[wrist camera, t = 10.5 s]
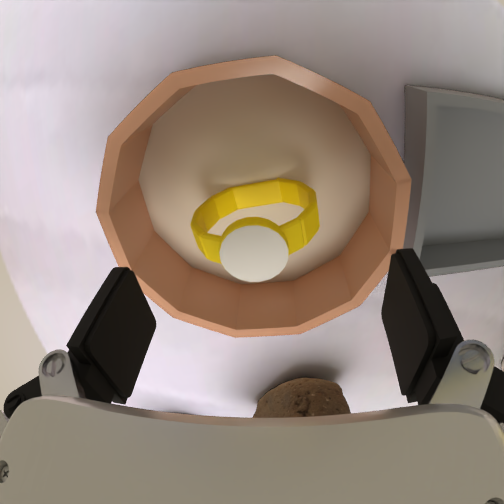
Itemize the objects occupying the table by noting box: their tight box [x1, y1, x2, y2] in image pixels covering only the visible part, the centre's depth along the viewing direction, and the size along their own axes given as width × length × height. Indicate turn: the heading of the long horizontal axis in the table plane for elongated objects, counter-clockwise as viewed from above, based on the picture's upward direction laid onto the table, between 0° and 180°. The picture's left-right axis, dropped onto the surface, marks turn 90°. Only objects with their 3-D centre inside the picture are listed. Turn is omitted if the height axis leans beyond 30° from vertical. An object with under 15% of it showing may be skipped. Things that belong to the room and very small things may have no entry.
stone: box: [253, 377, 351, 418], centre depth 22 cm, size 12×7×20 cm, turn 155°
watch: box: [190, 177, 320, 282], centre depth 14 cm, size 6×3×6 cm, turn 102°
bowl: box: [96, 55, 412, 337], centre depth 16 cm, size 14×14×5 cm
